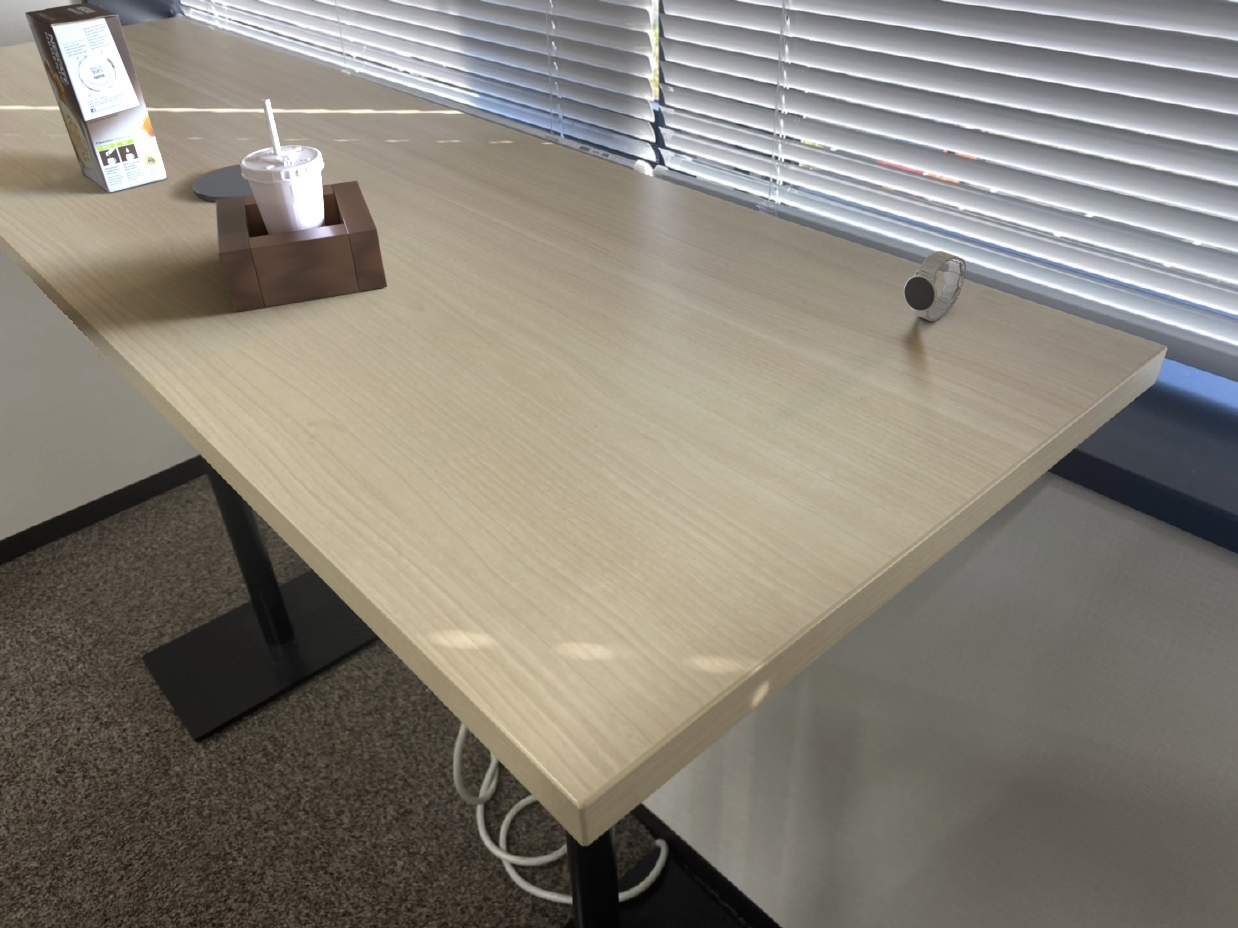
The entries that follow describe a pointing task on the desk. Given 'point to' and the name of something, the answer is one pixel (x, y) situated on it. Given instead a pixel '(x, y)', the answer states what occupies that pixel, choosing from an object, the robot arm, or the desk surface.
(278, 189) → the smoothie
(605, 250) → the desk surface
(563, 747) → the desk surface
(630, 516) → the desk surface
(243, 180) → the coaster
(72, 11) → the coffee box
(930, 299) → the wristwatch
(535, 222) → the desk surface
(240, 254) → the stand
